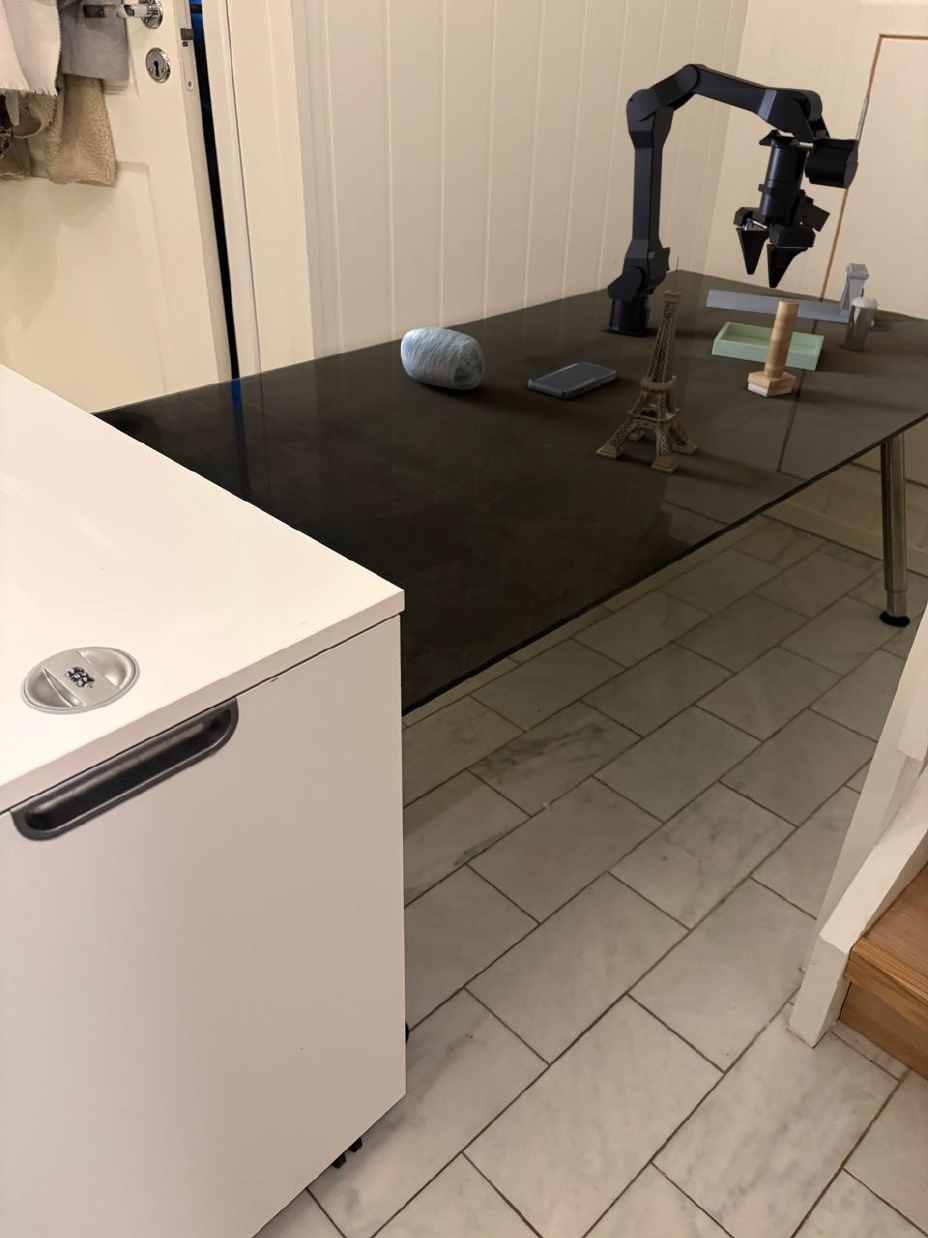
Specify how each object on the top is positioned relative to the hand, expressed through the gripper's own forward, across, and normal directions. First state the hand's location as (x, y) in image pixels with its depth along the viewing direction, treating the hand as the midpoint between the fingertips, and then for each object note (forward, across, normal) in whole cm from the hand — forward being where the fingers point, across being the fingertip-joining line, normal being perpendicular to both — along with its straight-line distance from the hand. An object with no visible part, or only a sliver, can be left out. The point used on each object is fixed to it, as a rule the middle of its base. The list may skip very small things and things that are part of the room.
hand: (761, 281), depth 159 cm
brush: (+13, -17, +3) cm, 22 cm away
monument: (+13, +34, -24) cm, 43 cm away
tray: (+13, +4, -6) cm, 15 cm away
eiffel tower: (+13, -41, +31) cm, 53 cm away
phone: (+13, -13, +34) cm, 39 cm away
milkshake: (+13, +7, -24) cm, 28 cm away
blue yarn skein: (+14, -14, +56) cm, 59 cm away
